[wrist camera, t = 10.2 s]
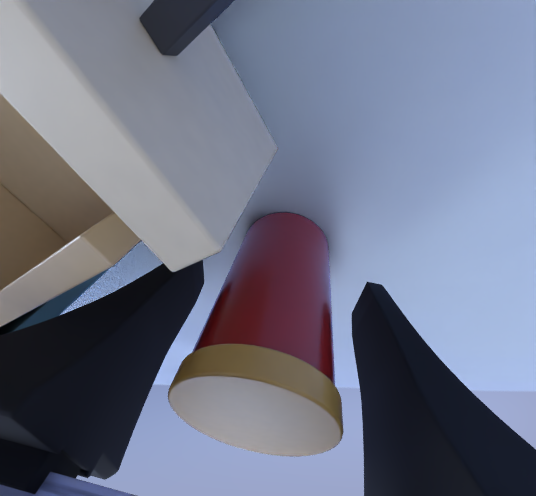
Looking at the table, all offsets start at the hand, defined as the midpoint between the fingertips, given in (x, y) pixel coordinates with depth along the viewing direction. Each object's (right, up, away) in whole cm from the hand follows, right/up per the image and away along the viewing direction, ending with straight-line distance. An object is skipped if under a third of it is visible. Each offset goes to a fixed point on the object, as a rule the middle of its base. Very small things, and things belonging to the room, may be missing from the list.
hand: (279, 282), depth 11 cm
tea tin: (0, +1, +2) cm, 2 cm away
